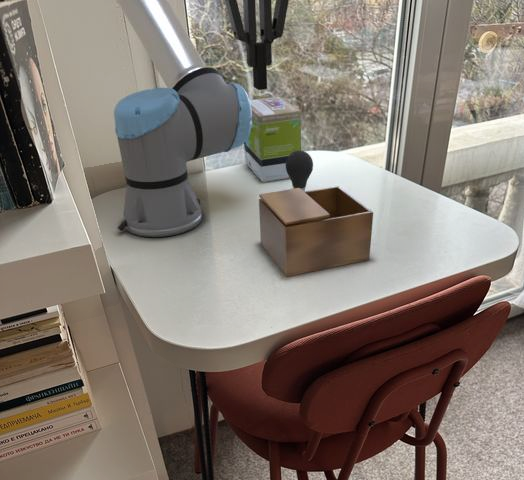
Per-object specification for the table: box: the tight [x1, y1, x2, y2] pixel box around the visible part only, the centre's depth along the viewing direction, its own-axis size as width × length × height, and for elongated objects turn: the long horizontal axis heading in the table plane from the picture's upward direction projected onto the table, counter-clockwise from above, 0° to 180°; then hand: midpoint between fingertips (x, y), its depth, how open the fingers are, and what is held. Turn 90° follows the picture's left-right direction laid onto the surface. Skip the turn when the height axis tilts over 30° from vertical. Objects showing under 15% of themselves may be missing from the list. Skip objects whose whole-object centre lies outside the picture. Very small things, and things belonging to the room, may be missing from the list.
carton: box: [258, 185, 374, 277], centre depth 94 cm, size 15×13×8 cm
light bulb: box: [286, 149, 314, 192], centre depth 113 cm, size 6×6×10 cm
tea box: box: [243, 96, 302, 183], centre depth 127 cm, size 15×10×15 cm
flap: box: [258, 188, 330, 225], centre depth 90 cm, size 7×13×1 cm, turn 19°
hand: (260, 87), depth 91 cm, fingers closed
